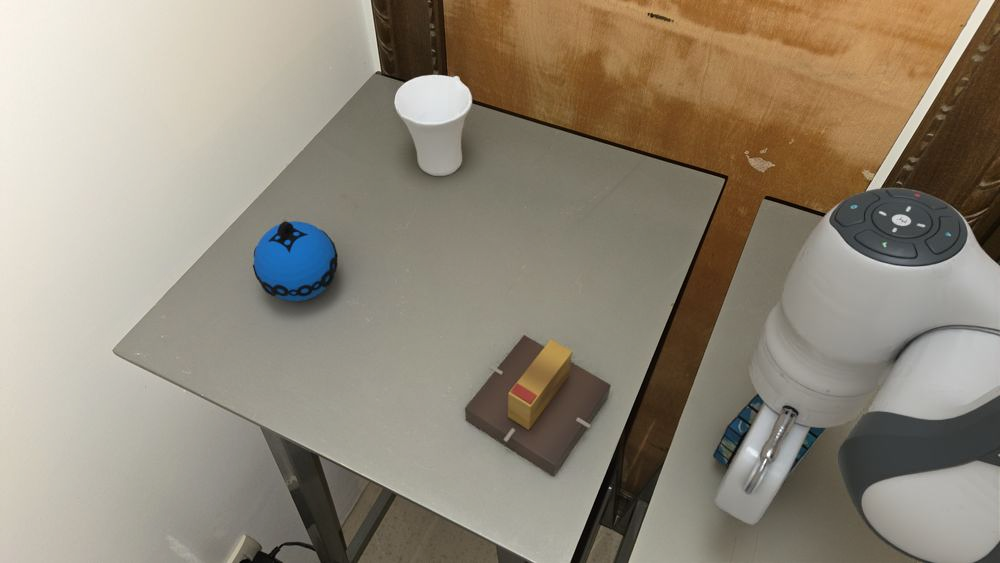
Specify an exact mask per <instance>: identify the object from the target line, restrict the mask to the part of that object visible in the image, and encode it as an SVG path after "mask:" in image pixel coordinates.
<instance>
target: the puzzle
mask: <svg viewBox="0 0 1000 563" xmlns="http://www.w3.org/2000/svg"><path fill="white" fill-rule="evenodd" d="M763 402H764V401H763V400H762V398H761V397H760V396H759V395H758V393H757V392H756V395H754V396H753V397H752V398H751V400H749V402H748V403H747V404H746V406H744V407H743V408H742V409H741V410H740V411H739V413H737V416H735V417H734V418H733V419H732V420H731V421H730V423H729V424H727V426H726V428H725V430H724V433H723V434H722V436H721V439H720V441H719V442H718V444H717V446H716V449H715V450H714V452H713V454H712V457H713V459H714V460H716V461H717V462H718V463H720V465H722V466H723V467H725V468H726V469H728V468H729V466H730V464H731V463H732V461H733V459H734V457H735V455H736V453H737V451H738V449H739V447H740V446H741V444H742V442H743V440H744V438H745V436H746V434H747V432H748V431H749V429H750V427H751V425H752V423H753V421H754V419H755V417H756V415H757V414H758V412H759V410H760V408H761V406H762V404H763ZM825 430H826V428H817V427H810V429H809V431H808V434H807V436H806V438H805V440H804V442H803V444H802V446H801V448H800V450H799V452H798V454H797V457H796V459H795V461H794V463H793V465H792V467H791V469H790V471H789V473H788V475H787V477H786V479H785V480H784V482H783V484H782V486H784V485H785V483H786V482H787V480H788V479H789V478H790V477H791V475H793V473H794V472H795V471H796V469H797V468H798V467H799V465H800V464H801V463H802V462H803V461H804V459H805V458H806V457H807V455H808V454H809V453H810V451H811V450H812V449H813V447H814V446H815V445H816V443H817V441H818V440H819V438H820V437H821V436H822V435H823V433H824V432H825Z"/></svg>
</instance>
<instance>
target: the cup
mask: <svg viewBox="0 0 1000 563" xmlns="http://www.w3.org/2000/svg"><path fill="white" fill-rule="evenodd" d="M460 78H461V77H460V76H458V75H455V76H449V75H441V74H428V75H421V76H418V77H414V78H412V79H410V80H408V81H405V83H403V84H401V86H400V87H399V88H398V89H397V91H396V93H395V97H394V102H393V103H394V107H395V110H396V113H397V115H398V116H399V117H400V119H401V120H402V121H403V123H404V124H405V125H406V126H407V129H408V132H409V133H410V135H411V137H412V140H413V144H414V147H415V150H416V159H417V164H418V166H419V168H420V169H421V171H424V173H426V174H428V175H430V176H434V177H435V176H436V177H445V176H450V175H452V174H453V173H455V172H456V171H457V170H458V169H459V168H460V167H461V166H462V163H463V152H462V132H463V129H464V125H465V121H466V120H465V119H466V117H467V115H468V114H469V112H470V110H471V108H472V105H473V95H472V93H471V90H470V88H469V87H468V86H466V85H465V84H464V83H463V82H462V80H460Z"/></svg>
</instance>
